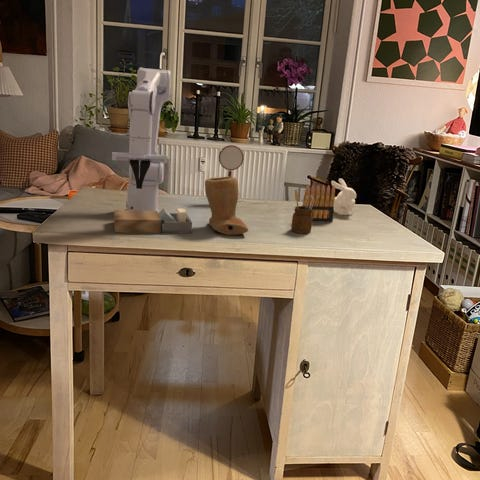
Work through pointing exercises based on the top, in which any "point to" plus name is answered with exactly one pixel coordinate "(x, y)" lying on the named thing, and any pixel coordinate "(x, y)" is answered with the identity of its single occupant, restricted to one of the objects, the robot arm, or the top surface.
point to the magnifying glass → (231, 158)
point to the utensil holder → (302, 218)
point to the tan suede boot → (224, 205)
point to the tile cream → (181, 215)
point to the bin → (176, 225)
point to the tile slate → (166, 216)
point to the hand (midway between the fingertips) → (139, 188)
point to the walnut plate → (137, 221)
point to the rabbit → (344, 198)
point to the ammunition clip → (320, 203)
